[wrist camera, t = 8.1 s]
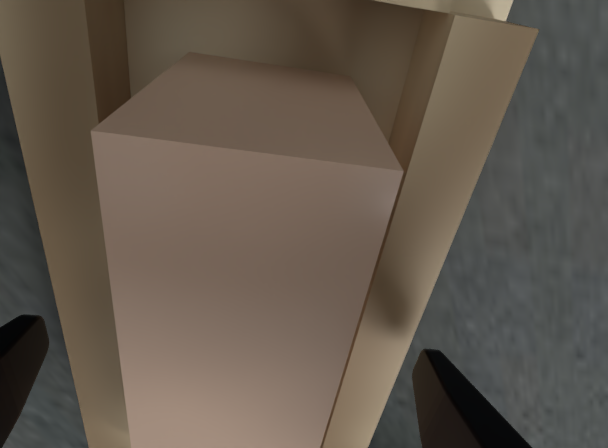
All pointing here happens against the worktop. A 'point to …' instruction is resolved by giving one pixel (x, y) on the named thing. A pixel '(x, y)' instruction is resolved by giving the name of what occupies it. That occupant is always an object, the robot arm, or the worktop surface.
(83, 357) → the tray
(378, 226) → the clay bar
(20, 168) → the worktop surface
